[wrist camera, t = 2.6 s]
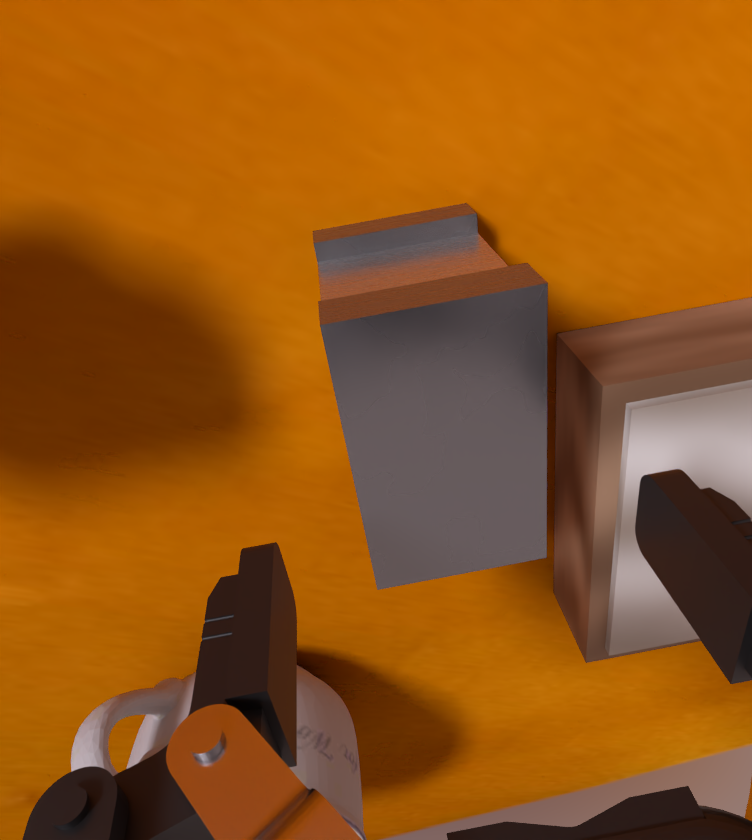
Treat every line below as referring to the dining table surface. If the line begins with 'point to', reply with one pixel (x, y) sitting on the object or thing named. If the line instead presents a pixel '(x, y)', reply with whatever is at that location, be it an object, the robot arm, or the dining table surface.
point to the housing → (438, 392)
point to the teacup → (170, 704)
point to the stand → (642, 459)
